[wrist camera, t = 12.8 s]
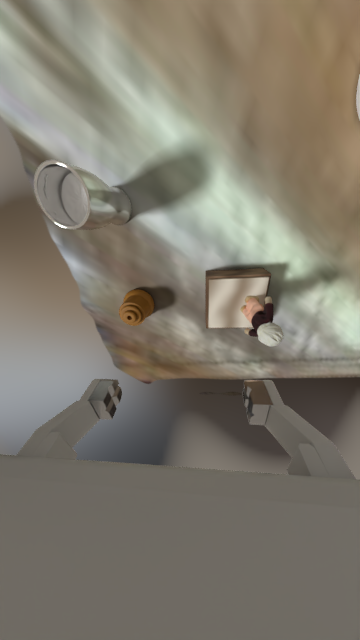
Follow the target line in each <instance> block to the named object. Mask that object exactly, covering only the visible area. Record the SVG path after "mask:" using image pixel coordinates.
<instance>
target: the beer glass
mask: <svg viewBox="0 0 360 640" xmlns="http://www.w3.org/2000/svg"><path fill="white" fill-rule="evenodd" d="M34 190H35V194H36V198H37V200H38V203H39V205H40V207H41V208H42V210H43V211H44V213H45V214H46V215H47V216H48V217H49V218H50V219H51V220H52V221H53V222H54V223H55V224H57V225H59V226H61V227H63V228H66V229H78V230H94V229H99V228H102V227H105V226H107V225H109V224H111V223H112V224H114V225H123V224H125V223H126V222H127V221H128V220H129V219H130V216H131V212H132V207H131V202H130V200H129V198H128V196H127V195H126V193H125V192H124V191H122V190H121V189H119V188H117V187H109V186H108V185H107V184H106V183H104V182H103V181H102V180H101V179H100V178H98V177H97V176H96V175H94V174H92V173H90V172H89V171H87V170H85V169H82V168H79V167H77V166H74V165H70V164H67V163H64V162H61V161H58V160H48V161H45V162H43V163H42V164H41V165H40V166H39V167H38V168H37V170H36V173H35V177H34Z"/></svg>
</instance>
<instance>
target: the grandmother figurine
mask: <svg viewBox="0 0 360 640" xmlns="http://www.w3.org/2000/svg"><path fill="white" fill-rule="evenodd" d="M245 302H246V303H247V305H244V306H242V307H241V309H240V311H241V312H242V313H243V314H244V315H245V317H246V318H247V319H248V320H249V322H250V323H251V324H252V326H253V328H254V329H248V328H247V329H245V333H246V334H248V335H250V336H255V337H256V336H258V339H259V341H260V342H262V343H264V344H265V345H268V346H271V347H272V346H277V345H278V344H279V343H280V342H281V341H282V339H283V332H282V329H281V328H280V327H279V326H278V325H276V324H274V323H272V321H273V304H272V298H271V297H270V296H268V297H266V298H265V307H263V306H262V304H260V303H259V298H258V297H257V296H247V297H246V298H245Z"/></svg>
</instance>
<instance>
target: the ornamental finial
mask: <svg viewBox="0 0 360 640" xmlns="http://www.w3.org/2000/svg"><path fill="white" fill-rule="evenodd" d="M153 310H154V301H153V298H152V297H151V296H150V294H148V293H147V292H145V291H143V290H139V289H136V290H132V291H130V292H128V293H127V294H126V296H125V298H124V303H123V304H122V305H121V307H120V309H119V315H120V317H121V319H122V320H123V321H124V322H125V323H127V324H129V325H133V326H136V325H139V324H141V323H142V322H143V321H144V319H145V318H146V317H148V316H150V315H151V314H152V312H153Z"/></svg>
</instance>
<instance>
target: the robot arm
mask: <svg viewBox="0 0 360 640" xmlns="http://www.w3.org/2000/svg"><path fill="white" fill-rule="evenodd" d="M356 104H357V112H358V117H359V120H360V76H359V80H358V86H357V96H356ZM118 384H119V383H118V380H111V379H94V380H93V381H92V382H91V384H90V385H89V387H88V388H87V390H86V391H85V393H84V394H83V396H82V397H81V399H80V400H79V401H76V402H75V403H73V404H72V405H70V406H69V407H68V408H66V409H65V410H63V411H62V412H61V413H59V414H58V415H56V416H55V417H54V418H52V419H51V420H49V421H48V422H46V423H45V424H44V425H42V426H41V427H39V428H38V429H37V430H36V431H35V432H34V433H33V435H32V436H31V437H30V439H29V440H28V441H27V442H26V443H25V445H24V446H23V447H22V449H21V450H20V451H19V452H18V454H17V455H3V454H0V640H360V480H357V479H356V478H355V477H354V475H353V474H352V472H351V470H350V469H349V467H348V465H347V464H346V462H345V461H344V459H343V457H342V456H341V454H340V452H339V451H338V449H337V448H336V446H335V444H333V443H332V442H331V441H330V440H329V439H327V438H326V437H325V436H324V435H322V434H321V433H320V432H319V431H318V430H316V429H315V428H314V427H313V426H311V425H310V424H309V423H308V422H307V421H305V420H304V419H303V418H302V417H300V416H299V415H298V414H297V413H295V412H294V411H293V410H292V409H291V408H289V407H288V406H284V404H283V402H282V400H281V398H280V395H279V394H278V391H277V390H276V387H275V385H274V383H273V381H272V380H245V381H244V387H245V388H244V389H243V400H244V405H245V406H246V407H247V416H248V420H249V424H252V425H265V426H266V428H267V429H268V430H269V431H270V432H271V433H272V435H273V436H274V437H275V438H276V439H277V440H278V442H279V443H280V444H281V445H282V446H283V448H284V449H285V450H286V451H287V452H288V453H289V455H290V456H291V457H292V460H291V462H290V464H289V466H288V468H287V471H288V474H289V475H286V474H272V473H258V472H244V471H230V470H215V469H202V468H187V467H173V466H159V465H145V464H130V463H116V462H102V461H88V460H75V459H76V457H77V453H76V452H75V451H74V449H73V446H74V445H75V444H76V443H77V442H78V441H79V440H80V439H81V438H82V437H83V436H84V435H85V434H86V433H87V432H88V431H89V430H90V429H91V428H92V427H93V426H94V425H95V424H96V423H97V422H98V421H99V419H112V418H113V416H114V414H115V412H116V405H117V404H118V403H119V402H120V400H121V396H122V390H121V388H120V387H119V386H118Z"/></svg>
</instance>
